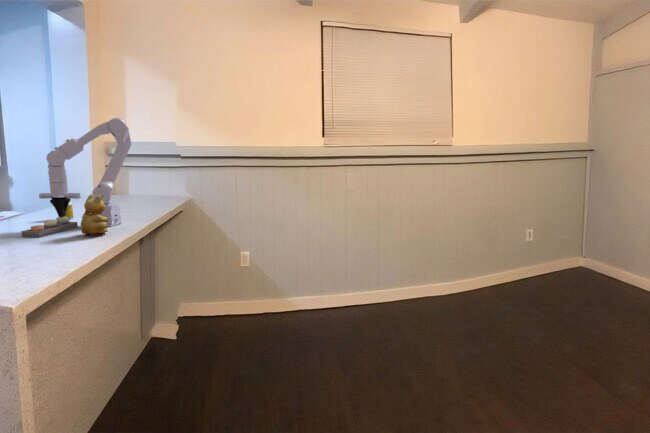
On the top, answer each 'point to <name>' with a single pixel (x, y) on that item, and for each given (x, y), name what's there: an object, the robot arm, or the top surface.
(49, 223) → the ivory button
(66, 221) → the sage button
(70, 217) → the supplement bottle
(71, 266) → the top surface
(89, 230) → the decorative figurine
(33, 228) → the terracotta button
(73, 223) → the panel
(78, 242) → the top surface
